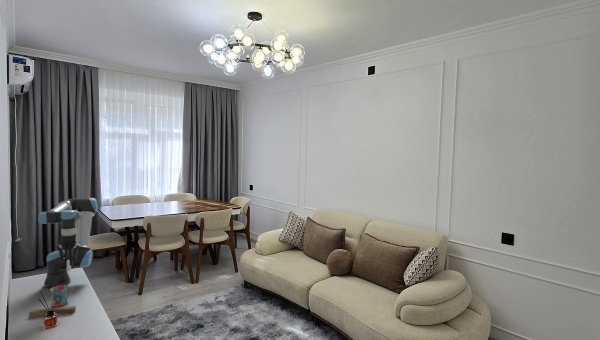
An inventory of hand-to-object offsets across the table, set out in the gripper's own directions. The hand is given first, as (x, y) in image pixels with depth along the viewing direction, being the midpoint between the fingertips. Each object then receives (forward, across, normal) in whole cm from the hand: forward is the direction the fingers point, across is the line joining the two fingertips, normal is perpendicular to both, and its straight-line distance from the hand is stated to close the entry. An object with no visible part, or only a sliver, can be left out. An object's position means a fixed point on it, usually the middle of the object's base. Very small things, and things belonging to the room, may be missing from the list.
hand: (68, 270), depth 213 cm
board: (+18, 0, -23) cm, 29 cm away
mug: (+18, 0, -10) cm, 21 cm away
